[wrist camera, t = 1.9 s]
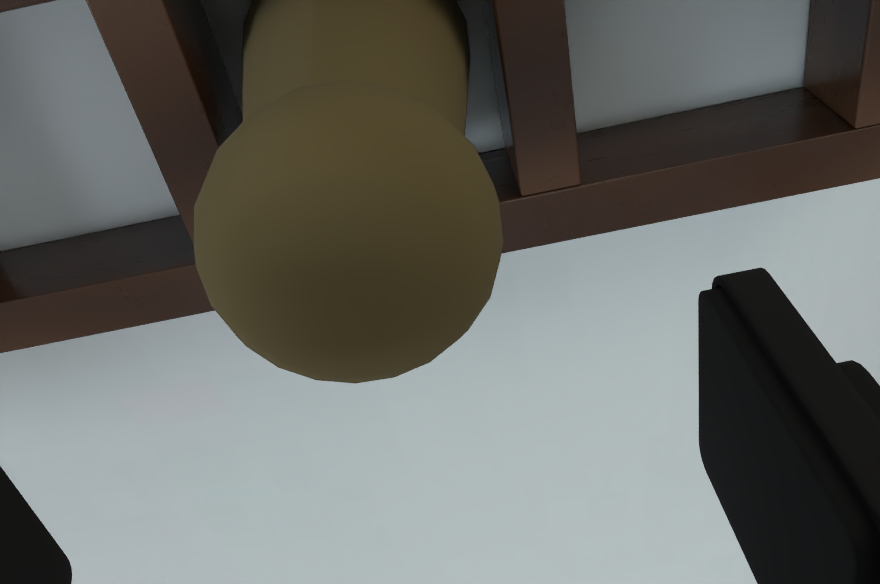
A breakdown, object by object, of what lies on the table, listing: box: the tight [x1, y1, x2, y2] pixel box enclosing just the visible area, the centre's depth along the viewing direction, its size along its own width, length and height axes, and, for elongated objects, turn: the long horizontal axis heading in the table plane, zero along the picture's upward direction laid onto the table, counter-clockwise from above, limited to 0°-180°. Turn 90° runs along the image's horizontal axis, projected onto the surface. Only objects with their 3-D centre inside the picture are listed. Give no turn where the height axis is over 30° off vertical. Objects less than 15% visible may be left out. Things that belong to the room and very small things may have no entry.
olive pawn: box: [194, 0, 503, 383], centre depth 17 cm, size 6×6×11 cm
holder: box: [0, 0, 880, 353], centre depth 20 cm, size 10×27×3 cm, turn 100°
